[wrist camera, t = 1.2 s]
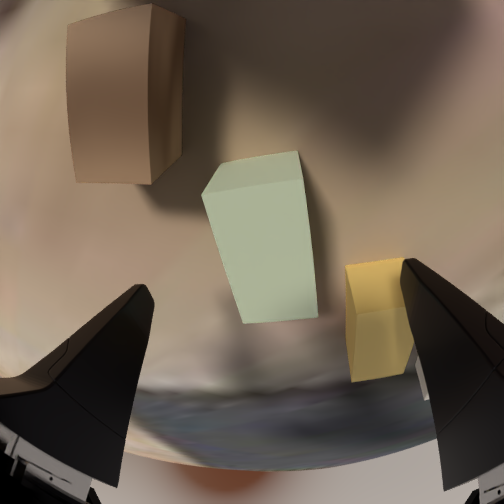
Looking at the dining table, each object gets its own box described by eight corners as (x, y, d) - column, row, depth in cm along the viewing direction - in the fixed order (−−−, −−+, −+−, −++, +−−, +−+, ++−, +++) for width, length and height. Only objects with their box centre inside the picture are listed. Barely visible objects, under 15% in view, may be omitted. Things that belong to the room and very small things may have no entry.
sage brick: (221, 162, 12) (201, 194, 9) (297, 149, 11) (303, 178, 8) (250, 273, 15) (243, 323, 12) (312, 266, 14) (318, 317, 12)
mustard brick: (344, 263, 14) (356, 314, 11) (402, 255, 14) (425, 302, 11) (345, 336, 18) (351, 382, 15) (391, 329, 17) (403, 373, 14)
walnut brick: (117, 29, 8) (67, 24, 6) (187, 19, 8) (152, 3, 5) (119, 153, 12) (76, 182, 9) (183, 154, 12) (151, 184, 9)
